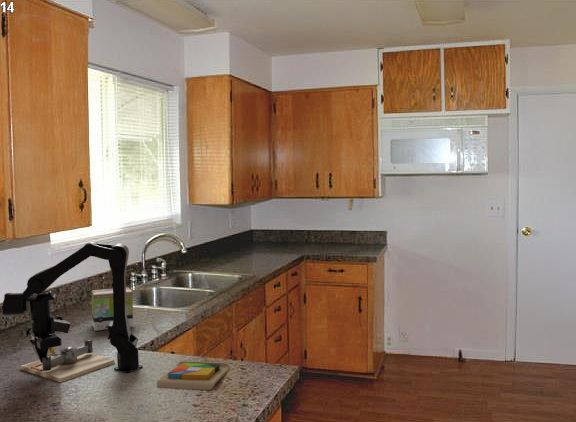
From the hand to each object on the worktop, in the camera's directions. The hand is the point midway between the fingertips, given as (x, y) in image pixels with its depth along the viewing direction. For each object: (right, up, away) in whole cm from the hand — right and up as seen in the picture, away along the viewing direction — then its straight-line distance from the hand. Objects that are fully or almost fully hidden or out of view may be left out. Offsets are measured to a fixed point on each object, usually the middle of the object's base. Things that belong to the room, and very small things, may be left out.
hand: (43, 362), depth 182 cm
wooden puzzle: (+48, -4, -4) cm, 48 cm away
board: (+5, -3, +7) cm, 9 cm away
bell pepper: (-23, 0, +53) cm, 58 cm away
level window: (-1, -2, +3) cm, 4 cm away
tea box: (+5, 0, +54) cm, 54 cm away
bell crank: (+3, -1, +8) cm, 8 cm away
